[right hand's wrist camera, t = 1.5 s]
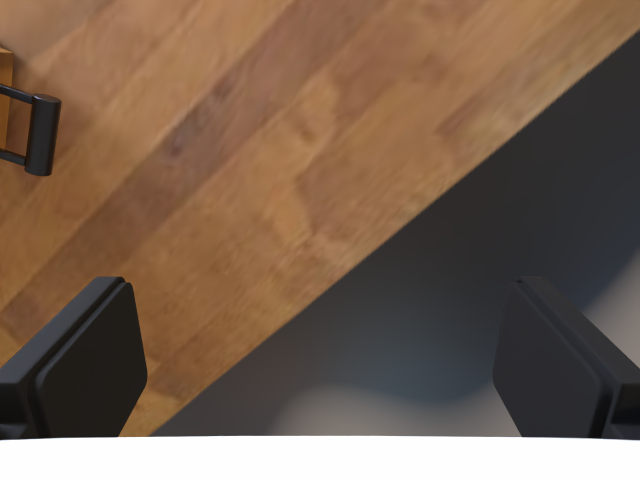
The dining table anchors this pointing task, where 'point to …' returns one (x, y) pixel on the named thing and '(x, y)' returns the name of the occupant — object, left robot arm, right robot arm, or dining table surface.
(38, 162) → the drawer
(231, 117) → the dining table surface
